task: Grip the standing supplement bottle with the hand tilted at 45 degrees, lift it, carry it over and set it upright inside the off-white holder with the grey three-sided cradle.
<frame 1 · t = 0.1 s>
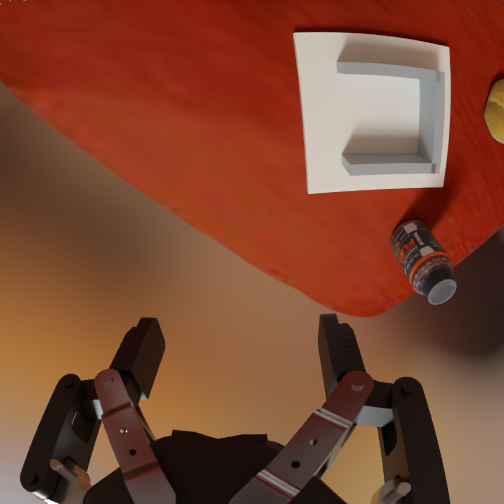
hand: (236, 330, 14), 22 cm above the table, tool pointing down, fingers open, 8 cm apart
bread roll: (500, 108, 25), on the table
supplement bottle: (407, 235, 37), on the table
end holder: (381, 112, 27), on the table
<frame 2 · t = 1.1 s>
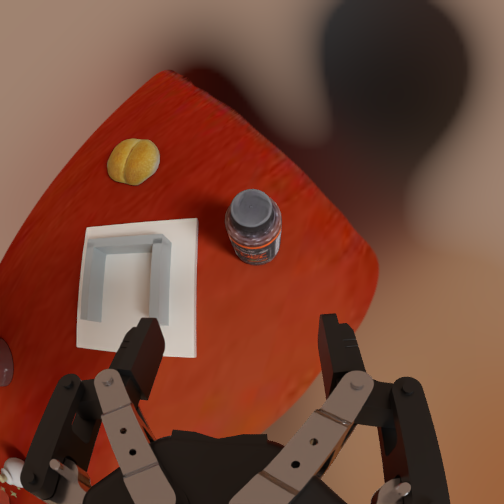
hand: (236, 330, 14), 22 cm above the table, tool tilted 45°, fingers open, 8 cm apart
bread roll: (136, 165, 44), on the table
french fries container: (1, 491, 27), on the table
ornament: (31, 471, 29), on the table
supplement bottle: (257, 244, 39), on the table
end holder: (133, 287, 38), on the table
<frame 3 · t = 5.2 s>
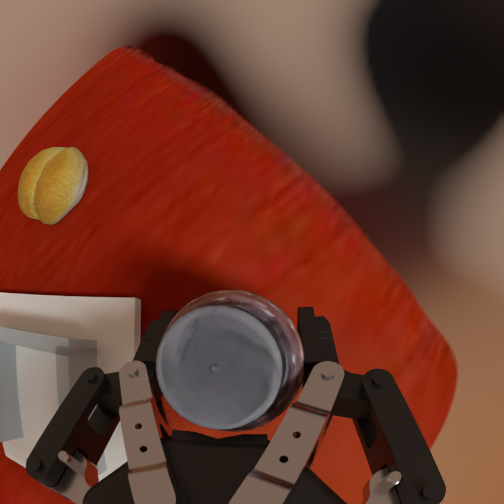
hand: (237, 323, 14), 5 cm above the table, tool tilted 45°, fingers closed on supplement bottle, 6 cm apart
bread roll: (58, 190, 25), on the table
supplement bottle: (248, 352, 19), on the table, touching gripper
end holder: (55, 397, 19), on the table
when the fingers open (8 cm above the table, at t = 11.2 s): supplement bottle drops 1 cm, resting on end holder.
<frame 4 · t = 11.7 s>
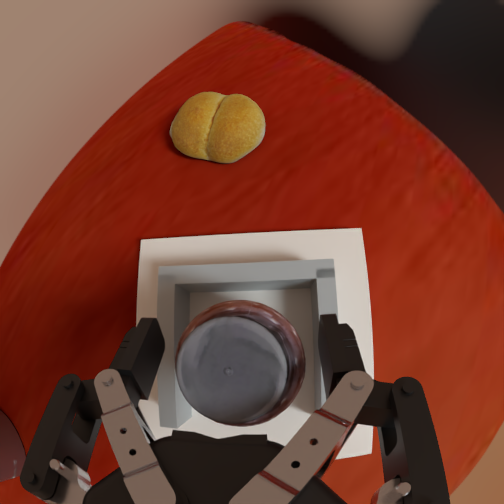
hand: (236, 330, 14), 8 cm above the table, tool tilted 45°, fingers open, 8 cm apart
bread roll: (219, 134, 28), on the table
supplement bottle: (252, 354, 20), point 1 cm above the table, touching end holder
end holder: (251, 351, 21), on the table
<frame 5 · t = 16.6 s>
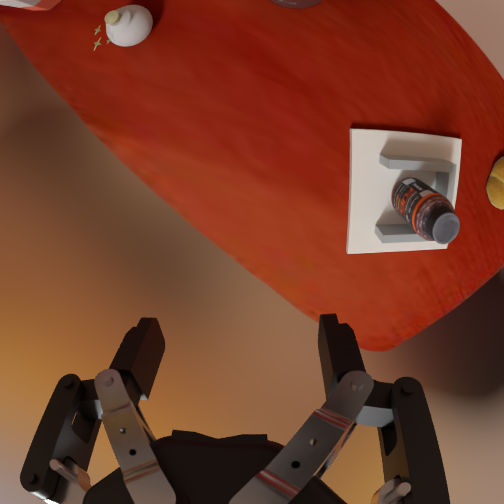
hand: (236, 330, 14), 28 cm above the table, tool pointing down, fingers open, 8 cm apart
bread roll: (499, 180, 36), on the table
ornament: (136, 34, 29), on the table
supplement bottle: (407, 195, 38), point 1 cm above the table, touching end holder
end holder: (406, 193, 38), on the table
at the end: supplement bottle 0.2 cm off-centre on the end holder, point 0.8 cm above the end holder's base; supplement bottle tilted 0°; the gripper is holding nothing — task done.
